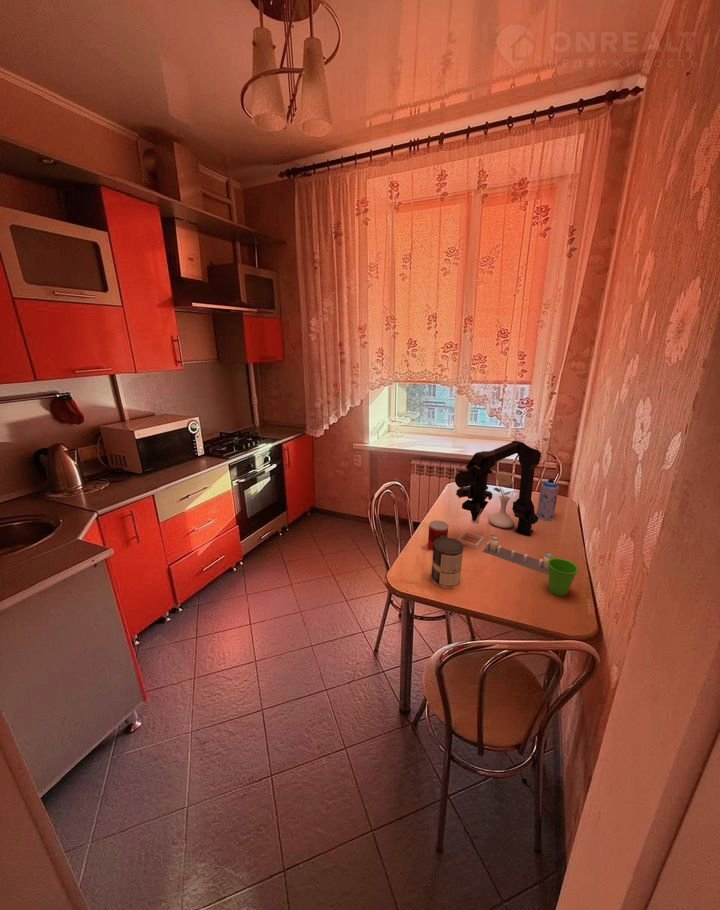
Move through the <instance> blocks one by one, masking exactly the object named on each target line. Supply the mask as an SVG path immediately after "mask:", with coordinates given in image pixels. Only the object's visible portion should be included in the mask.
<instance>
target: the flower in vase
mask: <svg viewBox="0 0 720 910" xmlns="http://www.w3.org/2000/svg"><path fill="white" fill-rule="evenodd" d="M494 478H495V479H496V481H497V482H498V483H499V484H500V488H498V487H494V488H493V491H495V492H497V493H501V495H499V496H498V498H499V501H500V509H499V511H498V512H496V513H494V514H492V515H490V517H489V518H488V521H489V523H490V524H491V525H493V526H494V527H498V528H502V529H509V528H510V529H511V528H512V527H514V525H515V521H514V519H513V518H512V517H511V516H510V515H509V514H508V513H507V510H506V509H507V505H508V502H509V501H510V500H511V497H510V496H507V495H509V494H511V492H512V491H505V492H502V486H512V484H513V479H512V477H510V476H509V475H508V474H507V473H504V472H501V471H500V472H497V473H496V474H495V476H494Z"/></svg>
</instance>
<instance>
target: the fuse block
mask: <svg viewBox="0 0 720 910" xmlns="http://www.w3.org/2000/svg"><path fill="white" fill-rule="evenodd" d="M489 548H490V541H487V542H486V543H485V548H484V549H483V550H482V551H481V552H482V553H485V554H488V555H490V556H494V557H497V558H500V559H501V560H505V561H507V562H511V563H514V564H517V565H519V566H522V567H525V568H528V569H531V570H533V571H537V572H540V573H543V574H545V575H548V576H549V571H548V570H545V569H543V568H542V566H543V561H544V558H540V559H537V558H534V557H531V556H528V555H529V554H528V553H524V554H522V553H519V552H517V551H516V550H515V549H512V550H511V549H510V550H509V549H507V548H505V547H504V548H503V547H502V545H500V544H498V547H497V552H492V551H490V550H489Z"/></svg>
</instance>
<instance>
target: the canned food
mask: <svg viewBox="0 0 720 910" xmlns="http://www.w3.org/2000/svg"><path fill="white" fill-rule="evenodd" d="M428 524H429V525H428V538H427V548H428V549H427V550H428V551H433V543H434V541H435V540H436V539H438V538H449V537H448V536H449V535H448V534H449V524H448V523H447V522H445V521H442V520H439V519H438V520H432V521H430V522H429V523H428Z"/></svg>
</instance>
